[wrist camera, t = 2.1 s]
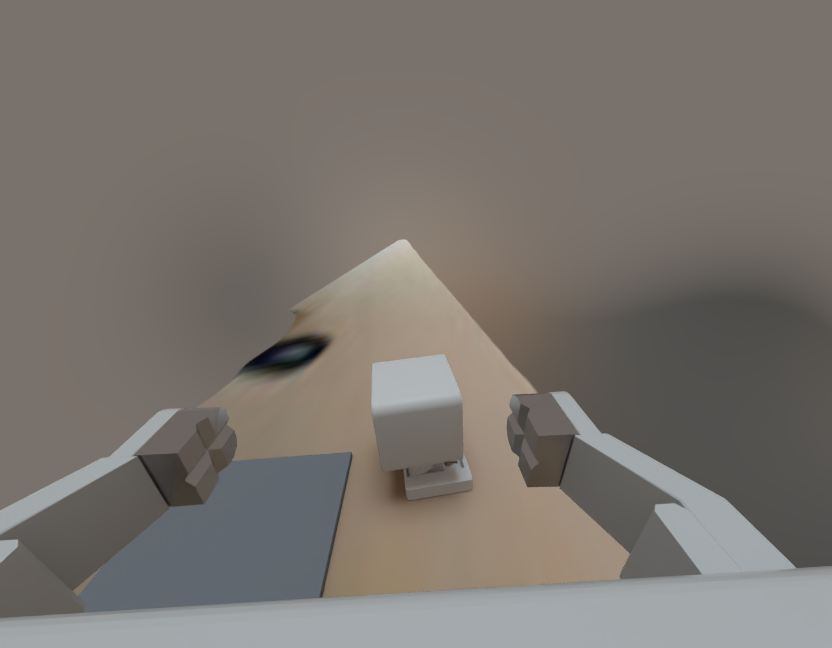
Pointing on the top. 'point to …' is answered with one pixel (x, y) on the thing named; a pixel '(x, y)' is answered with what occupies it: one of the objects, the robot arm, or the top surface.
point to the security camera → (420, 425)
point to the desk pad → (234, 540)
